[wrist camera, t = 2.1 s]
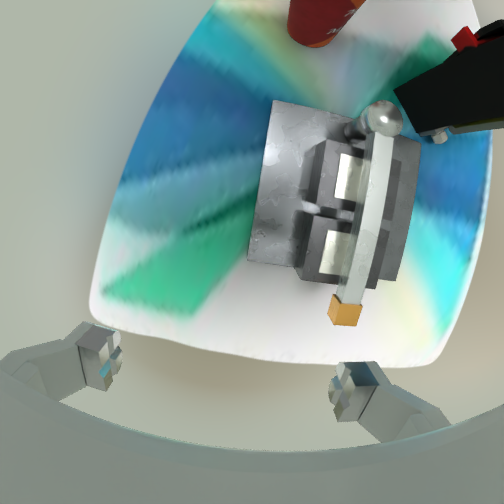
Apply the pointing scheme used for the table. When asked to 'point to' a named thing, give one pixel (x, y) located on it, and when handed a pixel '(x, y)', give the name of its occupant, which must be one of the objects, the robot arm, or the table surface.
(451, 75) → the electrical component
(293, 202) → the tray
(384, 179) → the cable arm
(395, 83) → the table surface
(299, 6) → the paper cup
